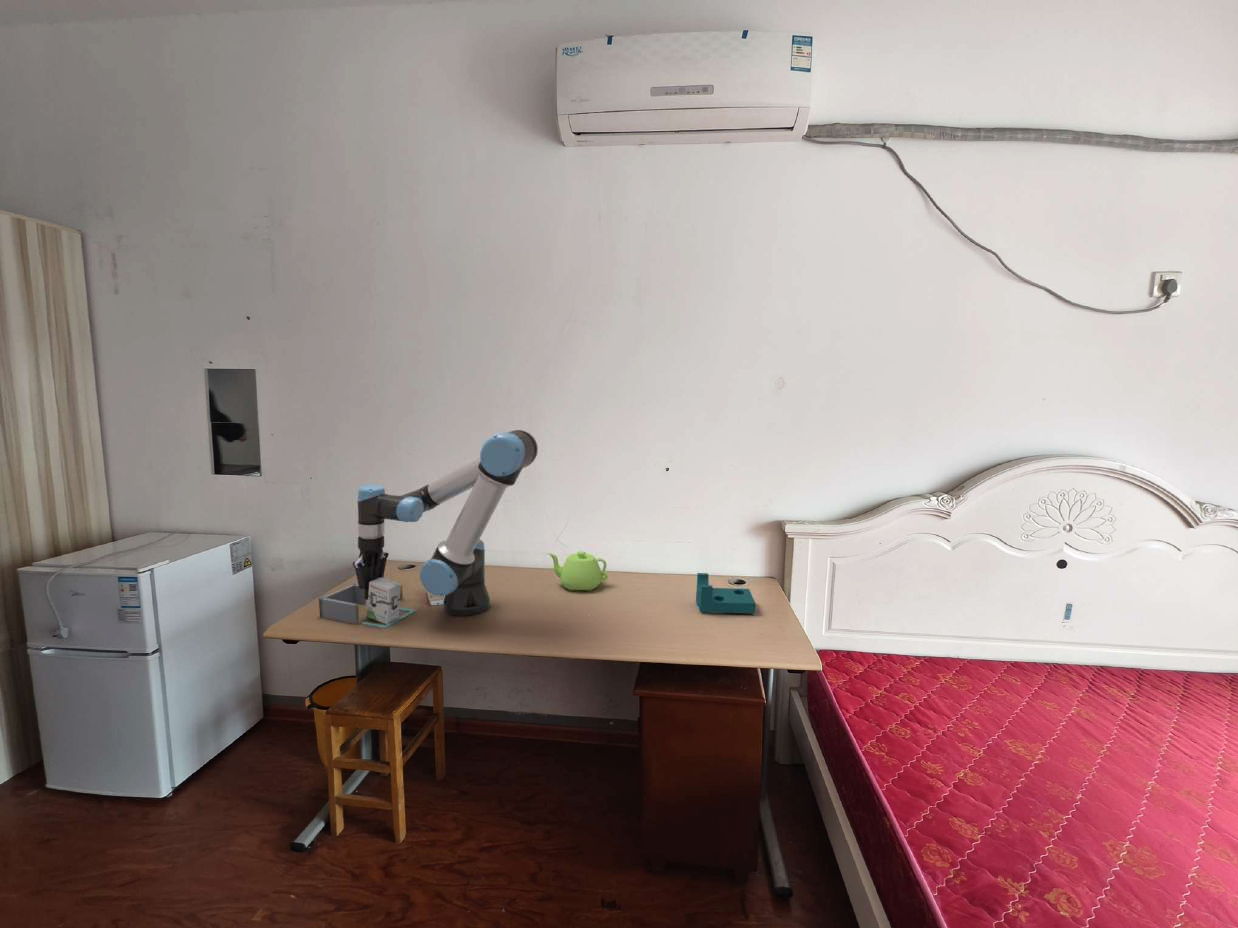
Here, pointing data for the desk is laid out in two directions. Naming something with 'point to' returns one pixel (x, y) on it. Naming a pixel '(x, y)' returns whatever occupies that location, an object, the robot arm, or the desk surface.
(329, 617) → the cubby
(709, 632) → the desk surface
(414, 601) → the desk surface
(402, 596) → the walnut block
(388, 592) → the ink box
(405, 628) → the desk surface
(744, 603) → the teal l-shaped bracket
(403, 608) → the frame
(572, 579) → the teapot
